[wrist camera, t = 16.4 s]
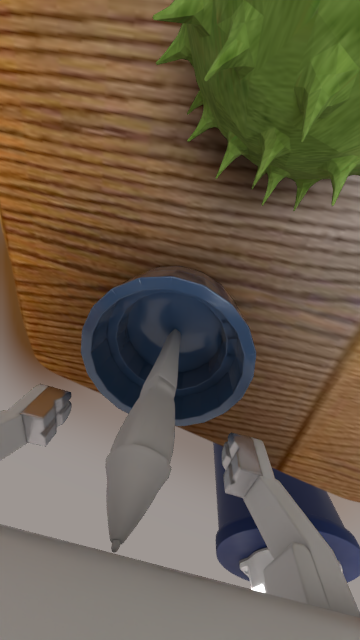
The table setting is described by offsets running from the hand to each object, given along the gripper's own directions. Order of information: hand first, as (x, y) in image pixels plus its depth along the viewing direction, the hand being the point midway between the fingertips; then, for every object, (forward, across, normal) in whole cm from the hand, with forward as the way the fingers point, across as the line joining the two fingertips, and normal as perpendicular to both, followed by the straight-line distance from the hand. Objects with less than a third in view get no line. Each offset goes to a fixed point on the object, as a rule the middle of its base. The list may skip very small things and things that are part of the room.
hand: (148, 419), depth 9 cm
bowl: (+10, 0, 0) cm, 10 cm away
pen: (+10, 0, 0) cm, 10 cm away
